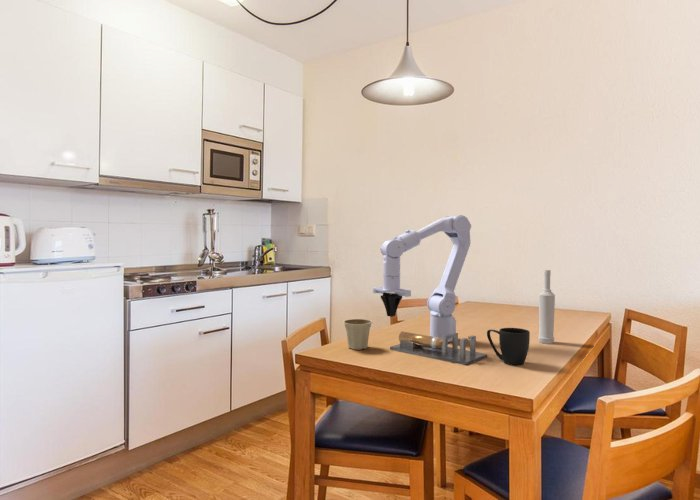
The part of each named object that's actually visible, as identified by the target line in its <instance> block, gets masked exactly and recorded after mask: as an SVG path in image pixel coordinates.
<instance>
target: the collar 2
mask: <svg viewBox="0 0 700 500" xmlns="http://www.w3.org/2000/svg"><path fill="white" fill-rule="evenodd" d="M476 339H477V338H476V335H469V336H468V337H467V338H466V337H463V338H460V339H459V349H460V358H461V359H465V358H466V345H467V344H466V343H467V342H468V341H469V351H470V355H475V354H476V352H477V351H476V349H477V347H476V344H477V340H476Z"/></svg>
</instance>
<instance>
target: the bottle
mask: <svg viewBox="0 0 700 500" xmlns="http://www.w3.org/2000/svg"><path fill="white" fill-rule="evenodd" d="M543 276H544V277H543V278H544V280H543V289H542V291H541V292H540V293H539V294H538V328H539V329H538V331H539V332H538V337H537V339H538V340H537V341H538V343H541V344H545V345H552V344H554V343H555V337H554V333H555V332H554V330H555V328H554V327H555V325H554V324H555V302H556V294H554V293H553V292H552V289H551V269H544V271H543Z"/></svg>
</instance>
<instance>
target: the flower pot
mask: <svg viewBox="0 0 700 500" xmlns="http://www.w3.org/2000/svg"><path fill="white" fill-rule="evenodd" d="M342 323H343V324H344V327H345V331H346V332H345V333H346V338H347V339H346V340H347V346H348V348H349V349H351V350H354V351H355V350H356V351H357V350H358V351H359V350H360V351H361V350H363V349H365V350H366V349H367V348H368V346H369V338H370V337H369V336H370V331H371V330H370V329H371V327H372V324H373V321H372V320H370V319H368V318H367V319H365V318H364V319H363V318H352V319H346V320H343V322H342Z"/></svg>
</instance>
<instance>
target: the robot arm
mask: <svg viewBox="0 0 700 500" xmlns="http://www.w3.org/2000/svg"><path fill="white" fill-rule="evenodd" d="M471 229H472V224H471V222H470V220H469V219H468V217H466V216H465V215H464V214H463V215H462V214H461V215H453V216H452V215H451V216H449V215H446V216H445V217H442V218H439V219H437V220H434V221H433V222H431V223H429V224H428V225H426V226H424V227H422V228H420V229H418V230H414V229H406V230H405V231H404V232H403V234H400V235H395V236H392V240H390V239H389V240H386V241H384V242H383V244H381V248H380V253H381V254H382V256H383V258H382V259H383V262H382V263H383V264H382V266H383V267H382V287H379V286H375V287H373V288H372V293H373V294H381V295H380V299H381V301H382V303H383V305H384V308H385V312H386V316H387V317H390V318H391V317H396V315H397V310H398V307H399V304H400V303H401V300H402V299H403V297H407V298H408V297H412V290H411V289H404V288H401V256H403V253H405V252H408V251H410V250H412V249H413V248H415V247H418V246H419V245H420V243H421V241H422V240H423V239H426V238H428V237H430V236H432V235H433V236H434V235H435V234H437V233H439V232H443V233H444V234H445V235H447V237H448V238H450V240H451V242H452V245H453V246H452V248H451V250H450V254H449V256H448V259H447V262H446V265H445V267H444V271H443V274H442V276H441V278H440V282H439V284H438V286H437V287H436V288H434V290H433V292H432V294H431V295H430V296H429V297H428V299H427V301H426V306H427V308H428V310H429V312H430V314H429V315H430V317H429V320H430V323H429V336H432V337H438V338H442V336H445V335H448V334H451V333H457V320H456V317H455V316H454V315H452V314H453V313H454V312H455V309H456V299H457V295H456V293H455V290H456V286H457V283H458V280H459V277H460V274H461V272H462V269H463V266H464V263H465V261H466V258H467V255H468V252H469V249H470V246H471ZM452 339H453V337H452V338H449V339H448V343H450V342H452Z"/></svg>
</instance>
